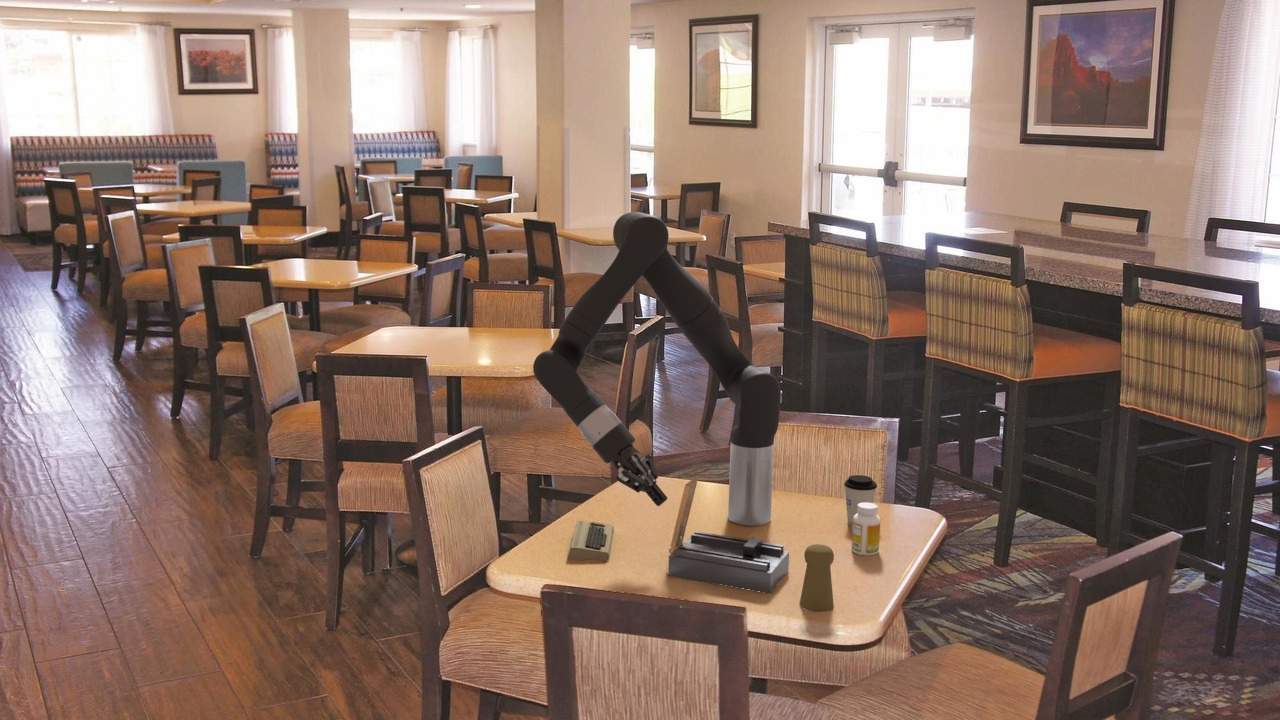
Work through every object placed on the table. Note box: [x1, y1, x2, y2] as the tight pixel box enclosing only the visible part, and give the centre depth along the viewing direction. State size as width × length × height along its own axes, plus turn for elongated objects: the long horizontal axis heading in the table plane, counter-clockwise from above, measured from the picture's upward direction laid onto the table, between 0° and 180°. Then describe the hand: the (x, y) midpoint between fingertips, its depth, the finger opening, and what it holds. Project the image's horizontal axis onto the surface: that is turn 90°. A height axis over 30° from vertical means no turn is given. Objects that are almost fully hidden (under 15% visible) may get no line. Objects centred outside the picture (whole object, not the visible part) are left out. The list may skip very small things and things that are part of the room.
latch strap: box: [668, 478, 698, 555], centre depth 225 cm, size 4×14×1 cm
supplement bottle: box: [851, 502, 881, 556], centre depth 235 cm, size 5×5×10 cm
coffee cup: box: [843, 474, 878, 526], centre depth 251 cm, size 7×7×10 cm
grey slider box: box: [667, 530, 790, 594], centre depth 223 cm, size 12×20×7 cm, turn 67°
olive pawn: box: [799, 543, 835, 613], centre depth 209 cm, size 6×6×11 cm
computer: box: [567, 519, 615, 562], centre depth 236 cm, size 16×8×3 cm, turn 178°
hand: (663, 502), depth 226 cm, fingers closed
